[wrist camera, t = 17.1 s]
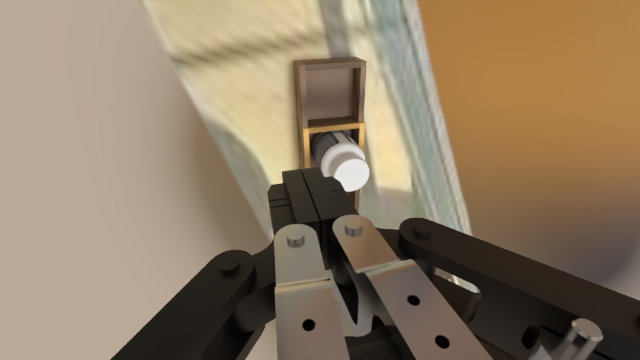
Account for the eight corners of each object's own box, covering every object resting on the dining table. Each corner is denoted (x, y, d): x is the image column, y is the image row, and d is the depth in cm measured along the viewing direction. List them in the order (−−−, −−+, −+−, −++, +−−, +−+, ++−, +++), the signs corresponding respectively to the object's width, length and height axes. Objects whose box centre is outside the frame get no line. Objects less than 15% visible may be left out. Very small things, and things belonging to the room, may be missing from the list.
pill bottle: (308, 163, 40) (325, 198, 33) (310, 125, 38) (329, 154, 30) (346, 161, 42) (370, 195, 34) (351, 125, 39) (378, 152, 32)
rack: (294, 60, 35) (300, 66, 31) (358, 56, 36) (370, 61, 33) (302, 211, 45) (308, 227, 42) (352, 203, 47) (361, 218, 43)
